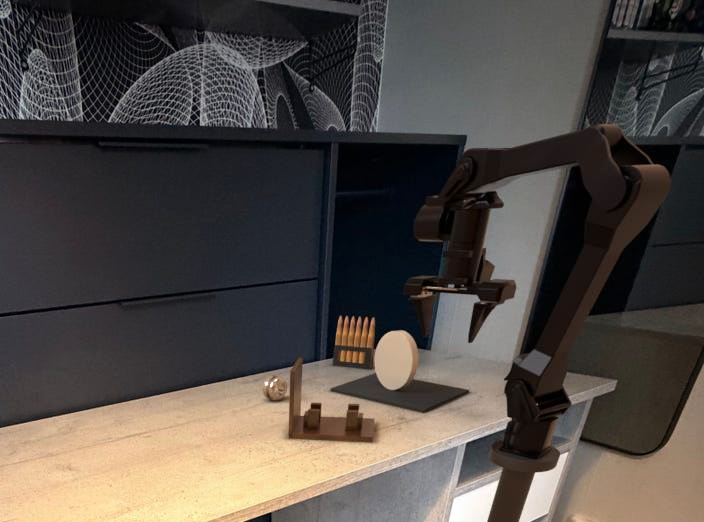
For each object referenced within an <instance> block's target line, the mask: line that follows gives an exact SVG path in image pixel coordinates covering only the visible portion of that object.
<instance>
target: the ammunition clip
mask: <svg viewBox="0 0 704 522" xmlns="http://www.w3.org/2000/svg"><path fill="white" fill-rule="evenodd" d="M363 321H364V322H363V326H362V317H361V316H358V319H357V322H356V319H355V316H354V315H353V316H352V317H351V320H350V321H349V316H348V315H346V316H345V319H344V323H343V317H342V315H340V316H339V317H338V321H337V327H336V333H335V344H334V347H333V357H332V366H335V367H336V366H337V367H346V368H356V369H363V370H364V369H365V370H371V369H372V368H373V367H374V357H375V337H376V335H375V332H376V320H375V317H374V316H373V317H372V318H371V322H370V326H369V318H368V316H366V317H365V319H364V320H363ZM349 323H350V324H349ZM349 325H350V326H349Z"/></svg>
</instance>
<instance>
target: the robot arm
mask: <svg viewBox="0 0 704 522" xmlns="http://www.w3.org/2000/svg"><path fill="white" fill-rule="evenodd" d="M577 166H578V167H579V169H580V174H581V180H582V185H583V187H584V188H585V189H586V191H587V193H588V194H589V196H590V197H591V201H590V204H589V207H588V211H587V213H586V216H585V220H584V243H583V247H582V249H581V250H580V253H579V255H578V257H577V259H576V261H575V263H574V265H573V267H572V269H571V272H570V274H569V276H568V278H567V280H566V282H565V284H564V286H563V289H562V290H561V292H560V295H559V296H558V298H557V301H556V303H555V305H554V306H553V309H552V311H551V313H550V315H549V317H548V319H547V322H546V324H545V326H544V328H543V329H542V332H541V335H540V336H539V338H538V341H537V343H536V344H535V346H534V348H533V349H532V350H531V351H530V352H529V353H524V354H519V355H516V356H515V357H514V359H513V360H512V363H511V367H510V370H509V372H508V374H507V375H506V376H505V377H504V378H503V381H506V382H505V385H504V388H503V393H504V394H505V397H506V416H507V418H508V419H511V420H509V421H507V423H506V426H505V431H504V434H503V438H502V440H503V441H502V444H503V446H501V447H500V448H499V450H500V451H503V452H507V453H511V454H515V455H519V456H522V457H526V458H530V459H534V460H536V459H539V458H540V457H542V456H543V455H545V454H546V453H548V452H549V451H551V450H552V447H551V446H552V445H551V442H552V439H553V436H554V433H555V430H556V427H557V424H558V421H559V418H560V417H559V416H563V415H565V414H566V413H567V412H568V411H569V409H570V408H571V407H572V404H573V403H572V401H571V399H570V397H569V395H568V393H567V391H566V389H565V387H564V385H563V384H564V383H565V379H566V376H567V373H568V369H569V354H570V350H571V348H572V346H573V344H574V342H575V341H576V339H577V337H578V336H579V334H580V331H581V329H582V328H583V325H584V324H585V321H586V320H587V318H588V316H589V314H590V312H591V311H592V308H593V307H594V305H595V303H596V301H597V299H598V297H599V295H600V294H601V291H602V290H603V288H604V286H605V284H606V282H607V280H608V278H609V277H610V275H611V272H612V271H613V269H614V267H615V266H616V263H617V261H618V260H619V258H620V255H621V254H622V252H623V250H624V249H625V248H626V247H627V246H628V245H629V244H630V243H631V242H632V241H633V240H634V239H635V238H636V237H637V236H638V235H639V234H640V233H641V232H642V231H643V229H645V227H646V226H647V225H649V223H650V222H651V220H652V219H653V217H654V215H655V214H656V213H657V211H658V210H659V208H660V207H661V205H662V204H663V203H664V201H665V200H666V198H667V197H668V194H669V192H670V189H671V186H672V180H671V177H670V172H669V171H668V169H667V168H666V167H665V166H663V165H661V164H657V163H656V164H654V162H653V161H652V159H651V158H650V156H648V154H646V153H645V152H644V151H642V150H641V149H640V148H639V147H638V146H637V145H636V144H635V143H633V142H632V141H631V140H629V138H628V137H627V136H626V134H625V132H623V130H622V129H621V128H620V126H619V125H617V124H615V123H614V124H612V123H593V124H591V125H588V126H587V127H585V128H582V129H579V130H575V131H572V132H571V131H570V132H568V133H563V134H560V135H556V136H552V137H548V138H544V139H540V140H536V141H532V142H527V143H525V144H521V145H517V146H513V147H472V148H468V149H466V150H464V152H462V153H461V156H460V158H459V159H458V161H457V164H456V166H455V167H454V169H453V171H452V172H451V174H450V176H449V178H448V179H447V181H446V182H445V184H444V186H443V187H442V189H441V191H440V192H439V194H438V195H428V196H426V198H425V204H424V205H423V206H421V207H420V209H419V210H418V212H417V214H416V217H415V219H414V220H413V228H412V229H413V234H414V237H415V239H417V240H418V241H420V242H441V243H442V242H443V243H444V242H448V244H447V249H443V251H442V256H441V257H442V258H445V260H444V267H443V270H442V271H443V272H442V276H437V275H418V276H413V277H408V279H407V280H406V282H405V283H404V286H403V291H402V295H403V296H407V297H408V296H409V297H408V301H410V302H411V303H412V305H413V308H414V310H415V313H416V316H417V320H418V324H419V327H420V330H421V332H422V338H428V336H429V334H430V329H431V323H432V316H433V310H434V305H435V303H436V300H437V298H438V296H439V293H440V294H453V295H467V296H468V295H470V296H476V297H477V298H478V300H479V301H476V302H474V303H473V306H472V312H471V318H470V324H469V330H468V335H467V343H468V344H472V343H473V342H474V341H475V339H476V337H477V335H478V334H479V332H480V330H481V329H482V327H483V325H484V323H485V322H486V320H487V318H488V317H489V315H491V313H492V312H493V310H494V309H495V308H496V307H498V306H500V305H503V304H505V302H506V301H508V300H511V299H514V298H515V295H516V291H517V283H516V280H515V279H505V278H504V279H503V278H493V279H492V277H493V275H494V274H493V273H494V271H495V268H496V266H495V265H494V264H493V263H492V262H491V261H490V260H488V259H486V256H487V255H486V254H487V247H484V244H485V240H486V234H487V230H488V225H489V221H490V216H491V212H492V210H495V209H496V210H497V209H502V208H504V206H505V203H504V201H503V200H502V198H501V197H499V194H498V192H497V190H498V189H501V188H503V187H505V186H508V185H509V184H511V183H512V182H513V181H515V180H517V179H520V178H523V177H527V176H533V175H537V174H542V173H546V172H553V171H557V170H562V169H568V168H572V167H577ZM450 285H451V286H453V287H449V286H450ZM433 293H438V294H433ZM549 445H551V446H549Z"/></svg>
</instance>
